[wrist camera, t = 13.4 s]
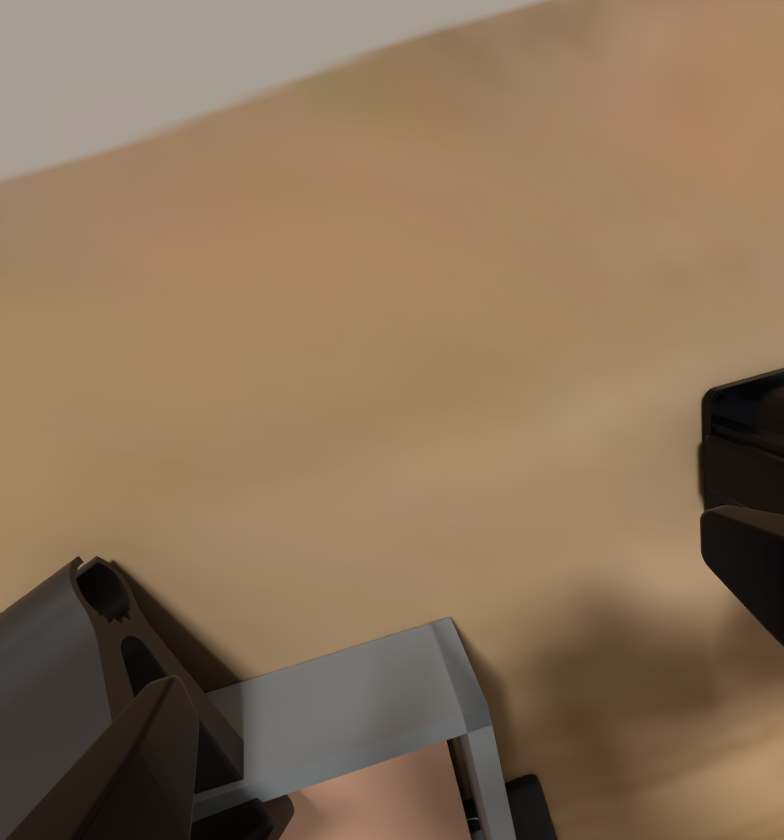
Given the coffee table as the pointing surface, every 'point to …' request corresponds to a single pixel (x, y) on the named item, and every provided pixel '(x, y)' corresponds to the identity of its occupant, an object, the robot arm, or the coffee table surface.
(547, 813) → the cell phone
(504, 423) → the coffee table surface
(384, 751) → the flap frame
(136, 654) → the phone stand
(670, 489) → the coffee table surface
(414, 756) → the flap
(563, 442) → the coffee table surface
